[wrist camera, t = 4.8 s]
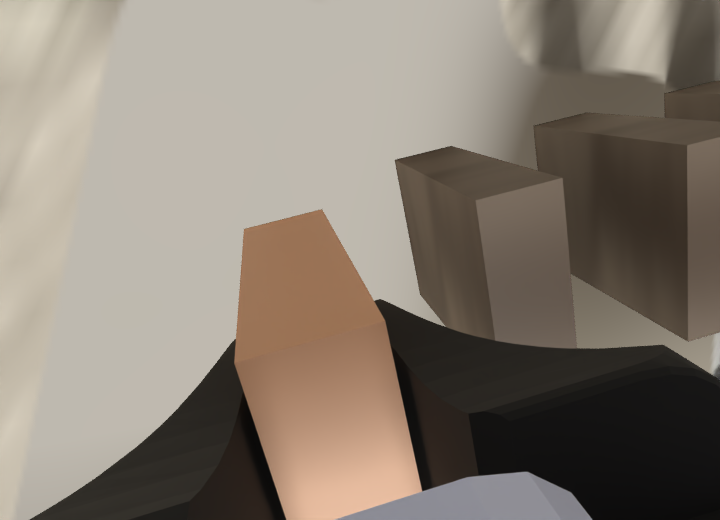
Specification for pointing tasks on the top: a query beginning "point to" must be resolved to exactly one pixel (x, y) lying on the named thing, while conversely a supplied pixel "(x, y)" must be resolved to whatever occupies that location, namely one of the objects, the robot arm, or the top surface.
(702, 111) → the dark tile
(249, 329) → the peach block
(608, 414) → the robot arm
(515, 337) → the domino block
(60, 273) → the top surface
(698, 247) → the dark tile
